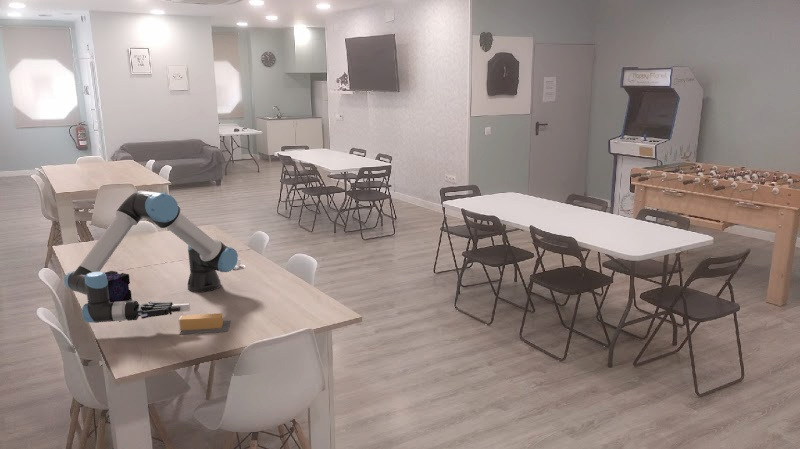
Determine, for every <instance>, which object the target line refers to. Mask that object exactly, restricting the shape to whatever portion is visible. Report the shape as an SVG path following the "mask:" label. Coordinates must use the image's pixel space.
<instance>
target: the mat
mask: <svg viewBox="0 0 800 449" xmlns="http://www.w3.org/2000/svg"><path fill="white" fill-rule="evenodd" d="M231 322H232V319H231V320H230V319H229V320H228V319H227V320H223V325H222V328H213V329H197V330H181V331H180V332H179V335H195V334H196V335H197V334H212V333H213V334H214V333H227V332H228V331H229V328H230V325H231Z"/></svg>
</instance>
